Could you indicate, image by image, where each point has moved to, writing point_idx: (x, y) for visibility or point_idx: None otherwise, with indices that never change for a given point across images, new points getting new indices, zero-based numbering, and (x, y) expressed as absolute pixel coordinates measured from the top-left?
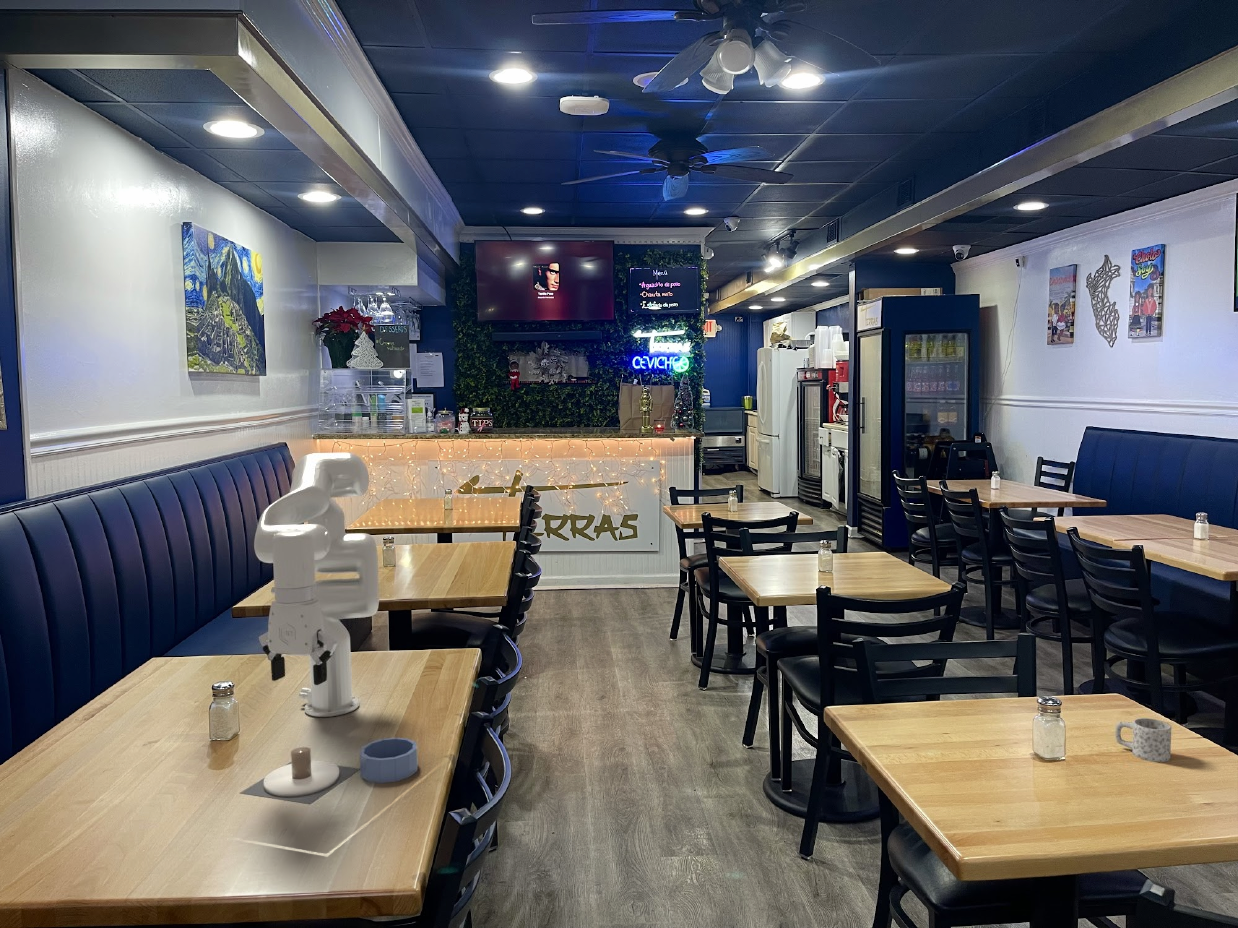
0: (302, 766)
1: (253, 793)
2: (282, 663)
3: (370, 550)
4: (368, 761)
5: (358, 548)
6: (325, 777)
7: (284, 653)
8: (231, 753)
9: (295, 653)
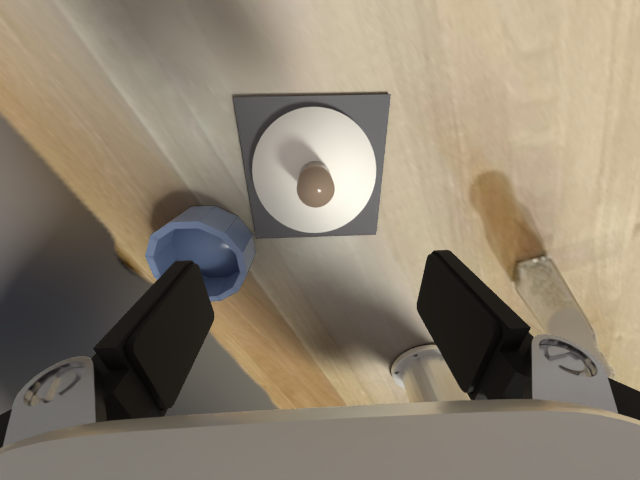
0: (302, 170)
1: (363, 100)
2: (452, 353)
3: None
4: (196, 219)
5: None
6: (270, 183)
7: (391, 410)
8: (491, 227)
9: (183, 439)
